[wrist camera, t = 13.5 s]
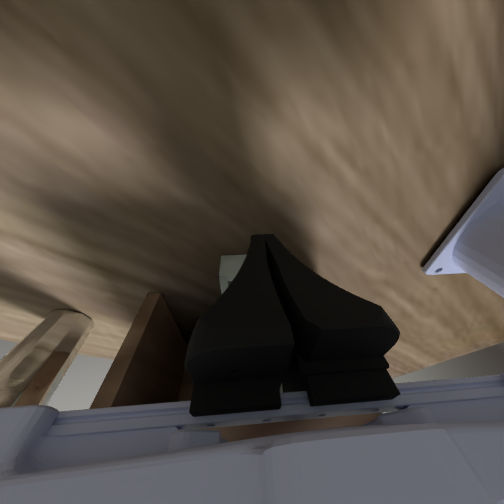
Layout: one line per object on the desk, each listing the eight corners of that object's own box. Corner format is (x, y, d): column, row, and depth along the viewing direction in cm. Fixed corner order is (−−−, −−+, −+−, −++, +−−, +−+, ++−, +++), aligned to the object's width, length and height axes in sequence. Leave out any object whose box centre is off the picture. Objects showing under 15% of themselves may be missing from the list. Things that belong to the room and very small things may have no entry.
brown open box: (319, 283, 15) (391, 431, 8) (299, 346, 22) (328, 455, 15) (148, 293, 14) (61, 463, 7) (181, 354, 21) (154, 473, 14)
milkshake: (14, 305, 14) (-271, 546, 6) (86, 303, 15) (-97, 528, 7) (51, 334, 17) (-113, 528, 9) (111, 332, 17) (3, 516, 9)
